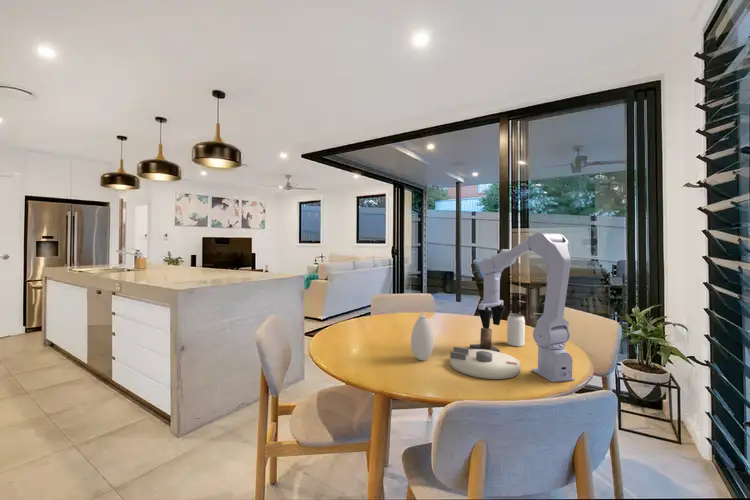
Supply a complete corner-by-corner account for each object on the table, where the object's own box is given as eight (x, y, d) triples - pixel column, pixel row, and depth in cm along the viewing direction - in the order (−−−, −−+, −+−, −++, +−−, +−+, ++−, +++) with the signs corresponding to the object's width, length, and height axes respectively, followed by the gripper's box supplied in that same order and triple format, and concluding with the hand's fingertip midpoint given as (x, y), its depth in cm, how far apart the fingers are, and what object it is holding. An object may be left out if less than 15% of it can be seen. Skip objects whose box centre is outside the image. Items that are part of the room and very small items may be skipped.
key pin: (493, 347, 129) (494, 329, 129) (487, 349, 127) (487, 331, 126) (484, 345, 132) (484, 327, 132) (477, 346, 130) (478, 328, 130)
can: (506, 345, 136) (506, 315, 135) (508, 341, 141) (508, 312, 141) (523, 347, 133) (524, 317, 132) (525, 343, 138) (525, 314, 138)
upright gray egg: (432, 364, 114) (433, 310, 114) (409, 362, 116) (410, 309, 115) (433, 356, 122) (434, 306, 121) (411, 355, 123) (412, 305, 123)
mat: (499, 352, 127) (499, 349, 127) (479, 353, 125) (479, 351, 125) (488, 346, 135) (488, 343, 135) (469, 347, 133) (469, 344, 133)
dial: (520, 359, 118) (520, 348, 118) (519, 384, 98) (520, 370, 98) (456, 351, 127) (456, 340, 127) (443, 371, 107) (443, 359, 107)
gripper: (491, 287, 136) (491, 321, 137) (471, 291, 127) (471, 327, 127) (508, 289, 131) (508, 324, 131) (488, 293, 121) (488, 331, 122)
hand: (491, 326), depth 129 cm, fingers open, 7 cm apart
